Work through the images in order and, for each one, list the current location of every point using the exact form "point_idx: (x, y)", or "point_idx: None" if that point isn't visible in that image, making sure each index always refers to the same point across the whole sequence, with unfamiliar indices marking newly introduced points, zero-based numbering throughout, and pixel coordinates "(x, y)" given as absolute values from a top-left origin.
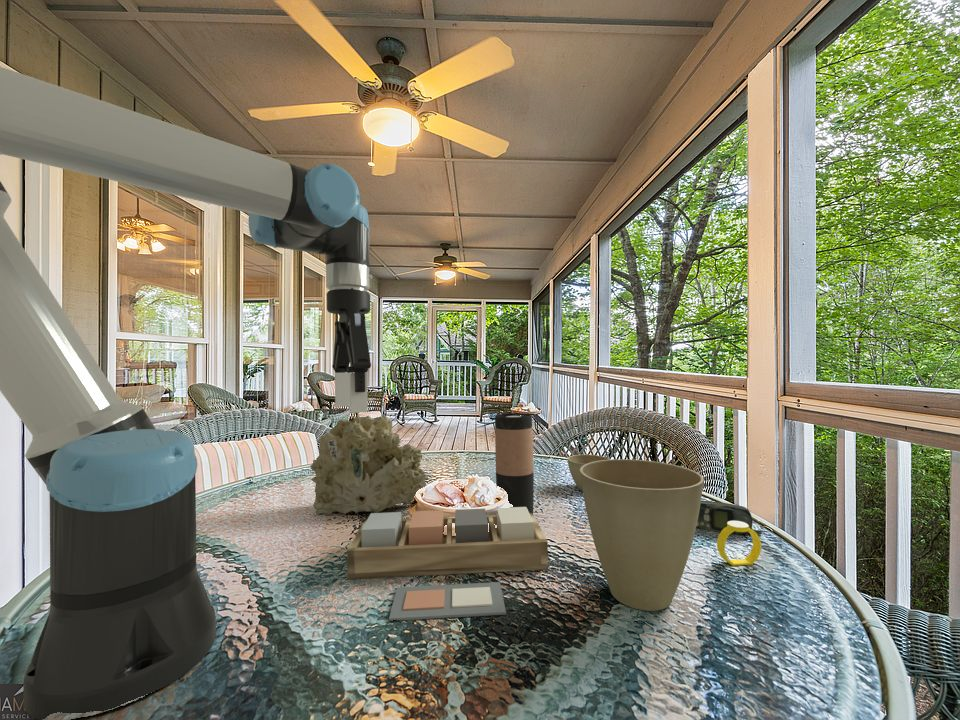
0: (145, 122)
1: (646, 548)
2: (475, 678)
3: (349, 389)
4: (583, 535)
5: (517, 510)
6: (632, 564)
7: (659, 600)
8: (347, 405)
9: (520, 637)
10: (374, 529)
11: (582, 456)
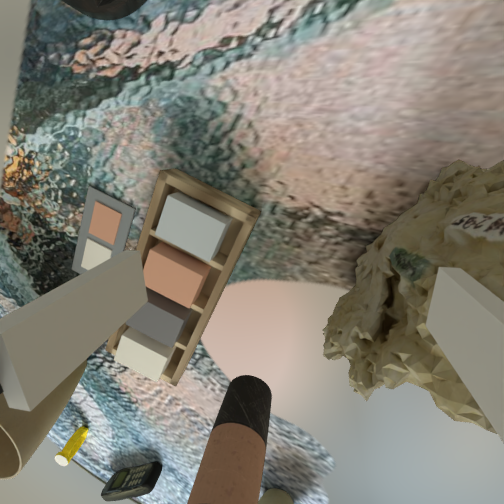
0: None
1: None
2: (19, 216)
3: (466, 380)
4: (167, 399)
5: (150, 369)
6: None
7: None
8: (428, 315)
9: (48, 261)
10: (163, 210)
11: None
